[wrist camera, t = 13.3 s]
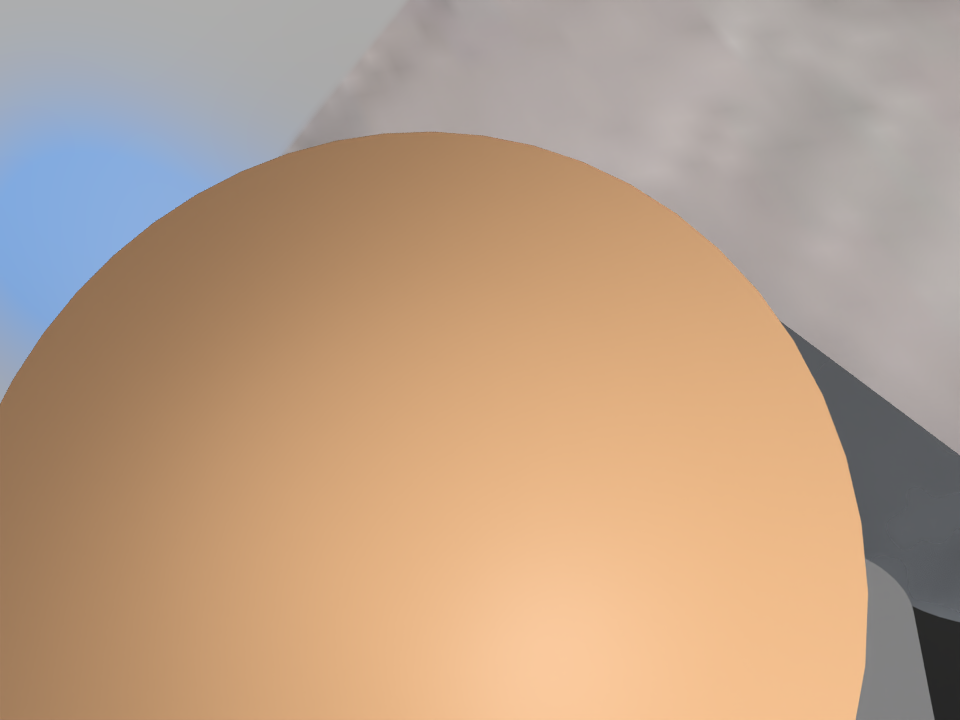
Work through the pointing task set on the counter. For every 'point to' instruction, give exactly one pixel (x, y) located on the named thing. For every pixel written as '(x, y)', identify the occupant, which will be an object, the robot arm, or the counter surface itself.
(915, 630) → the robot arm
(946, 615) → the mounting plate
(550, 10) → the counter surface
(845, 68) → the counter surface
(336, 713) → the post
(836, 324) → the counter surface
